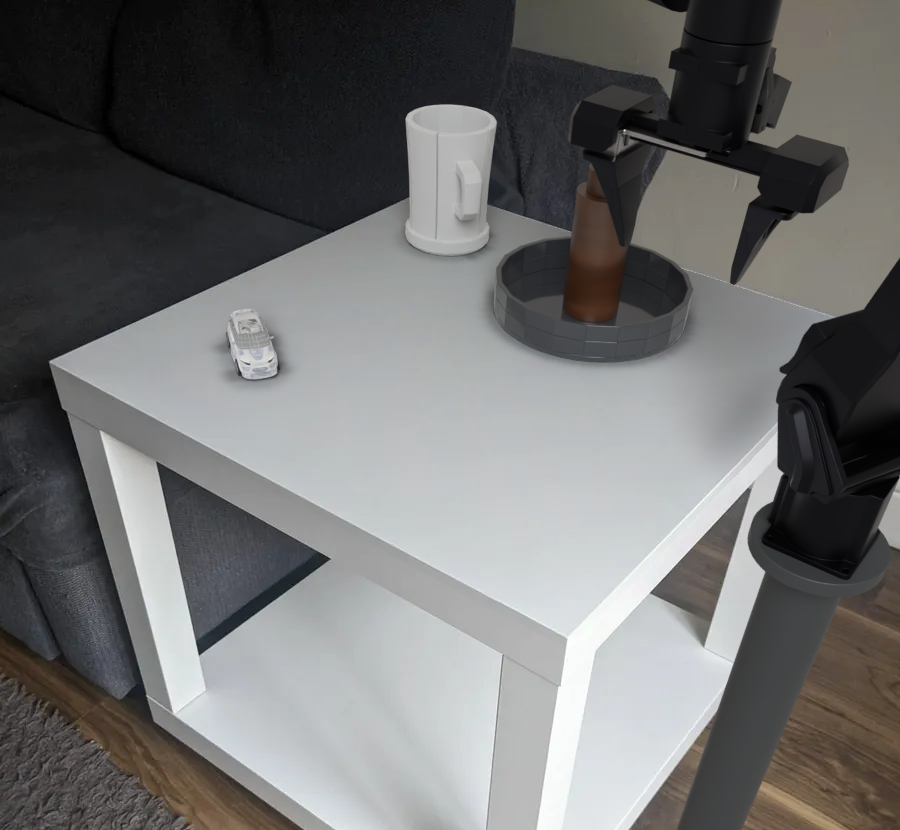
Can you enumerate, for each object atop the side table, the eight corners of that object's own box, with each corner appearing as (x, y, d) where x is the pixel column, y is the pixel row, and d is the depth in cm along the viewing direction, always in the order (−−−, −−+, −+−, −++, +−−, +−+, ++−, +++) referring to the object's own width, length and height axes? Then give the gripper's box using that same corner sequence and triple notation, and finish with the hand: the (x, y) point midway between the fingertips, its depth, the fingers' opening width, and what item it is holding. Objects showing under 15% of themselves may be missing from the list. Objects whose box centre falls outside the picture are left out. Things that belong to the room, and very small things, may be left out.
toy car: (240, 385, 82) (236, 353, 80) (224, 338, 88) (220, 307, 85) (284, 379, 83) (280, 347, 81) (266, 333, 88) (262, 302, 86)
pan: (717, 308, 95) (725, 273, 93) (625, 385, 84) (631, 348, 82) (558, 253, 102) (562, 220, 100) (455, 318, 92) (457, 282, 89)
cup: (518, 241, 104) (528, 121, 96) (469, 271, 99) (475, 147, 90) (438, 214, 108) (441, 97, 100) (386, 242, 103) (385, 120, 95)
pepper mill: (621, 322, 91) (647, 167, 81) (565, 321, 91) (585, 165, 81) (613, 296, 95) (637, 144, 85) (559, 295, 95) (577, 143, 85)
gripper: (912, 36, 64) (836, 264, 75) (658, -18, 72) (622, 196, 83) (851, 77, 58) (778, 319, 69) (578, 12, 65) (551, 240, 76)
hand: (678, 263), depth 74 cm, fingers open, 9 cm apart
